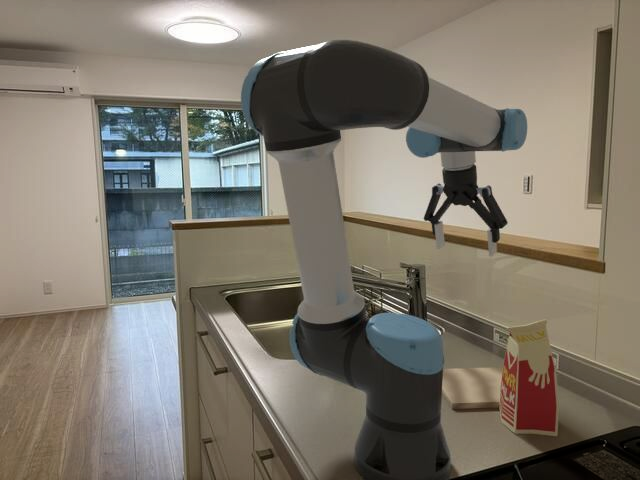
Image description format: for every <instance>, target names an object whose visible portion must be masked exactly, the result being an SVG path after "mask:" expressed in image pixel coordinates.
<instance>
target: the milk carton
mask: <svg viewBox="0 0 640 480" xmlns="http://www.w3.org/2000/svg"><path fill="white" fill-rule="evenodd" d="M547 323H548V319H547V318H544V319H541V320H537V321H534V322H530V323H528V324H521V325H515V326H507V327H505V328H506V329H507V331H509V335H508V339H507V345H506V348H505V349H506V350H505V354H504V358H503V365H502V367H503V371H502V379H501V387H500V406H499V407H498V408H499V415H500V416H499V417H500V422H501V424H502V425H504V426H505V427H506V428H508V429H509V430H510V431H511V432H513V433H514V434H516V435H517V434H521V435H522V434H523V435H524V434H527V435H528V434H530V435H531V434H534V435H541V436H552V437H558V431H559V430H558V429H559V427H558V426H559V413H560V412H559V411H560V410H559V409H560V404H559V392H558V380H557V379H558V378H557V370H556V366H555V361H554V357H553V352H552V347H551V343H550V339H549V335H548V329H547Z"/></svg>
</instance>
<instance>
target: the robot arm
mask: <svg viewBox="0 0 640 480" xmlns="http://www.w3.org/2000/svg"><path fill="white" fill-rule="evenodd" d="M240 105H241V110H242V115H243V116H244V120H245V121H246V123H247V124H248V127H251V128H252V129H253V131H254V132H255V133H257V134H259V135H260V136H262V137H263V142H264V148H265V152H266V153H267V154H268V155H269V156H270V157H272V158H273V159H275V160H276V161H277V162H278V166H279V174H280V178H281V184H282V188H283V194H284V200H285V204H286V210H287V215H288V221H289V227H290V233H291V236H292V242H293V247H294V251H295V253H294V254H295V257H296V262H297V263H296V265H297V269H298V274H299V278H300V279H299V280H300V284H301V285H300V286H301V291H302V295H303V300H302V301H301V303H300V304H299V305H298V307H297V313H296V314H295V316H294V318H293V320H292V323H291V324H292V326H293V327H292V328H290V330H289V345H290V349H291V352H292V355H293V356H294V358H295V360H296V361H297V362H298V363H299V364H300V365H301V366H302V367H304V368H306V369H308V370H309V371H311V372H312V373H314V374H316V375H319V376H323V377H326V378H329V379H331V380H334V381H336V382H338V383H341V384H343V385H347V386H349V387H352V388H354V389H357V390H358V391H361V392H364V393H365V395H366V396H365V398H366V399H365V401H366V402H365V404H366V405H365V417H364V419H363V421H362V425H361V428H360V430H359V432H358V433H359V434H358V436H357V439H356V442H355V444H354V454H353V455H354V460H353V461H354V466H355V469H356V471H357V472H358V474H359V475H360V476H361V477H362V478H363V479H365V480H448V479H449V477H450V475H451V461H452V459H451V453H450V448H449V445H448V442H447V438H446V436H445V433H444V429H443V426H442V419H441V418H442V417H441V416H442V399H443V397H442V396H443V395H442V380H443V369H444V366H445V355H444V341H443V336H442V335H441V333H440V331H439V330H438V329H437V327H436V326H434V325H433V324H432V323H430V322H429V321H427V320H424V319H422V318H421V317H417V316H415V315H411V314H407V313H401V314H399V313H397V312H381V313H377V314H375V315H373V316H371V317H368V315H367V309H366V302H365V297H364V296H362V295H361V294H360V293H358V292H357V291H356V290H355V289H354V282H353V275H352V269H351V262H350V255H349V248H348V242H347V236H346V229H345V221H344V215H343V209H342V201H341V195H340V188H339V182H338V175H337V168H336V161H335V156H334V155H335V154H334V152H335V149H336V148H337V146H338V145H339V144H340V142H341V141H342V135H341V134H342V133H341V131H345V130H354V129H366V128H368V129H369V128H384V129H389V130H393V131H397V130H399V131H400V130H403V129H407V130H406V134H405V142H406V146H407V148H408V150H409V152H411V153H412V155H414V156H416V157H418V158H421V159H423V158H426V159H427V158H429V157H433V156H435V155H436V154H439V153H440V161H441V163H440V164H441V167H442V169H441V173H442V181H443V185H442V184H441V183H437V184H435V185H433V186H432V188H431V196H430V200H429V203H428V205H427V208H426V210H425V212H424V216H423V220H424V221H425V222H430V224H431V231H432V235H433V236H435V243H436V249H437V250H440V249H442V248H443V247H444V246H445V245H446V243H445V242H446V241H445V234H444V233H445V232H444V223H443V220H441V218H442V217H443V215H444V214H445V213H446V212H447V210H448V209H449V208H450V207H451V205H453V206H463V207H467V206H468V207H470V209H471V210H474V212H475V213H476V214H477V216H479V218H481V220H482V221H483V222H484V223H485V224H486V225H487V226H488V229H487V230H486V231H487V232H486V233H487V247H488V257H491V258H492V257H493V256H494V255H495V254H497V252H498V247H497V245H498V244H497V243H498V242H499V241H500V239H501V235H500V232H501V231H500V229H504V228H505V227H506V225H508V220H507V218H506V217H505V214H504V213H503V211H502V209H501V207H500V206H499V205H500V204H499V203H498V202H497V200H496V198H495V196H494V194H493V191H492V190H493V189H492V186H491V185H486V186H485V187H484V186H483V187H479V185H478V173H477V165H476V164H475V163H476V162H477V160H476V152H506V151H517V150H520V149H521V148H522V147H523V146H524V144H525V142H526V139H527V134H528V119H527V116H526V114H525V112H524V111H523V110H522V109H520V108H507V107H506V108H505V109H497V108H494V107H492V106H489V105H488V104H485V103H483V102H481V101H479V100H478V99H475V98H473V97H470V96H469V95H467V94H464V93H462V92H461V91H458V90H457V89H454V88H453V87H450V86H448V85H446V84H444V83H442V82H439V81H437V80H435V79H434V78H432V77H429V74H428V72H427V70H426V69H425V68H424V67H423V66H422V65H421V64H420V63H419V62H416V61H415V60H412V59H411V58H409V57H406V56H404V55H402V54H400V53H397V52H395V51H392V50H390V49H386V48H384V47H382V46H378V45H374V44H371V43H368V42H363V41H358V40H353V39H352V40H351V39H332V40H328V41H324V42H321V43H318V44H314V45H309V46H305V47H300V48H295V49H291V50H287V51H279V52H276V53H274V54H273V55H271V56H268V57H265V58H262V59H260V60H259V61H257V62H255V63H254V64H253V66H251V67H250V69H249V71H248V72H247V75H246V76H245V77H244V79H243V83H242V86H241V92H240ZM442 194H444V195H445V196H446V199H444V201H443V202H442V205H441V206H440V207H439V209H438V210H437V211H436V209H437V206H438V203H439V201H440V199H441V196H442ZM478 195H480V197H481V198H482V199H481V198H480V197H479V196H478ZM482 200H483V202H484V203H483V202H482Z"/></svg>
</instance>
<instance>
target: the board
mask: <svg viewBox="0 0 640 480" xmlns="http://www.w3.org/2000/svg"><path fill="white" fill-rule="evenodd" d="M502 371H503V366H498V367H497V366H496V367H468V368H467V367H466V368H465V367H464V368H463V367H462V368H461V367H460V368H443V380H442V396H443V397H442V398H444V400H445V401H446V402H447V404H448V405H449V407H450V408H451V410H461V409H465V410H466V409H490V408H491V409H493V408H496V409H497V408H499V406H500V387H501V379H502Z"/></svg>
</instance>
